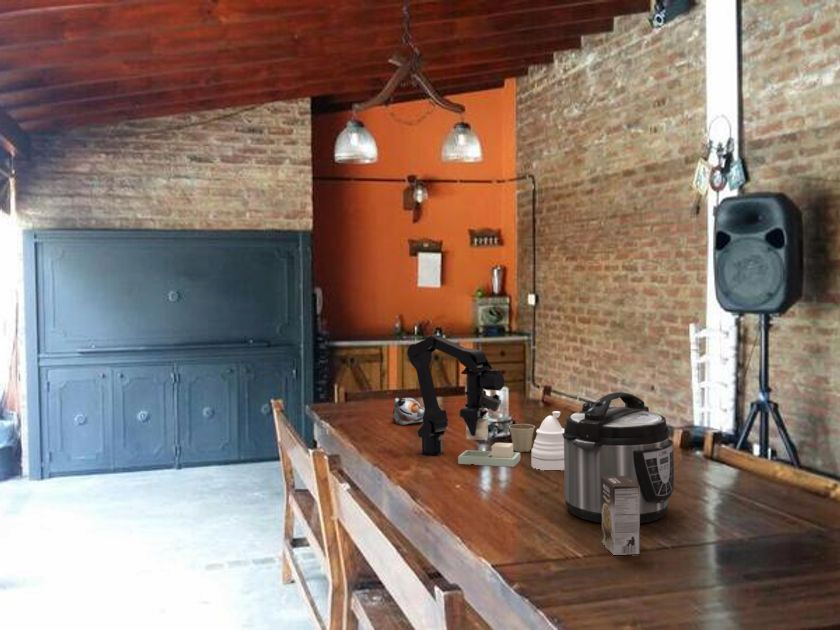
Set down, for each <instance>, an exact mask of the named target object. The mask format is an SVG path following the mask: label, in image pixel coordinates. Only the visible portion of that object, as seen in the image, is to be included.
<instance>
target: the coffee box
mask: <svg viewBox="0 0 840 630" xmlns="http://www.w3.org/2000/svg"><path fill="white" fill-rule="evenodd" d="M601 508H602V523H601V543H603V544H602V545H603V546H604V545H605V546H604V547H605V549H606V550H607V551H608V550H609V551H610V552H611V553H612V554H613V555H626V554H640V551H641V550H640V537H641V536H640V535H641V534H640V532H641V531H640V524H641V523H640V486H639V485H638V484H636V483H635V482H634V481H633V480H631V479H630V478H629V477H627V476H602V477H601ZM610 552H609V553H610ZM611 553H610V554H611ZM612 554H611V555H612ZM613 555H612V556H613ZM640 555H641V554H640Z"/></svg>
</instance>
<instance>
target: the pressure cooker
mask: <svg viewBox="0 0 840 630" xmlns="http://www.w3.org/2000/svg"><path fill="white" fill-rule="evenodd" d="M616 399H621V401H622V402H623V404H624V406H615V407H614V406H613V407H610V406H611V403H612V401H613V400H616ZM666 419H667V418H666V417H664V415H661V414H659V413H655V412H650V409H649V406H646V405H645V401H643V400H642V399H641V398H640V397H638V396H636V395H633V394H631V393H628V392H621V391H620V392H612V393H608V394H606V395H604V396H602V397H600V398H599V399H597V400H596V401H595V402H594V401H586V402H584V403H583V404H582V408H581V410H580V411H576V412H572V413H570V414H568V415H567V416H566V419H565V420H566V424H564V425H563V426H564V427H563V429H564V433H562V435H563V438H564V470H563V471H564V475H563V477H564V501H565V504H566V506H567V508H568V510H569V511H570V513H571V514H573V515H574V516H576V517H578V518H580V519H583V520H586V521H591V522H596V523H601V524H602V508H601V477H602V476H627V477H629V478H630V479H631V480H633V481H634V482H635V483H636V484H638V485H639V486H640V524H645V523H650V522H653V521H656V520H659V519H661V518H662V517H664V516H665V515H666V513H667V512H668V508H669V505H670V498H671V495H672V493H673V491H674V488H675V487H674V486H675V483H674V482H675V469H674V468H675V464H674V463H675V460H674V441H673V440H672V439H670V435H669V433H670V432H669V427H668V426H667V420H666Z"/></svg>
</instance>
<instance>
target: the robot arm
mask: <svg viewBox="0 0 840 630" xmlns="http://www.w3.org/2000/svg"><path fill="white" fill-rule="evenodd" d="M407 348H408V349H407V350H406V354H407V357H408V360H409V363H410V364H411V365H412V367H414V369H415V371H416V375H417V381H418V384H419V387H420V388H419V389H420V393H421V394H420V395H421V398H422V403H423V408H425V411H424V414H423V422H422V425H421V427H420V428H419V429H418V430H417V435H418V437H419V438H421V452H420V455H426V456H427V455H428V456H439V455H440V454H442V453H443V452H444V447H443V446H444V445H443V444H444V442H443V441H444V440H443V439H442V436H444V435H445V433H446V429H447V427H448V424H449V423H448V421H449V419H448V416H447V411H446V409H441V407H440V406H439V401H438V397H437V393H436V389H435V385H434V384H435V383H434V380H433V375H432V371H431V363H432V360H433V356H432V353H434V352H436V351H437V350H438V351H440V352H442V353H444V354H445V355H449V356H451V357H453V358H454V359H456V360H458V362H459V363H460V365H462V366H463V367H465V368H463V370H462V371H461V373H460V374H461V375H465V376H466V391H464V395H465V396H466V403H465V404H464V407H461V409H460V410H459V418H462V419H463V421H464V423H465V426H466V425H467V427H468V429H469V431H470V433H471V435H472V436H475V433H476V426H477V420H478V419H484V416H485V415H486V414H487V413H488V412H489V410H491V411H493V412H497V411H498V410H499V409H500V406H501V404H502V400H501V399H500V395H499V394H496V393H495V394H494V395H492V396H491V395H488V394H487V391H486V390H489V391H501V390H502V389H503V388H504V386H505V378H504V376H503V374H502V373H501V369H493V367H492V366H491V363H490V361H488V358H487V356H486V353H485V351H483V350H481V349H476V348H468V347H464V346H461V345H459V344H457V343H455V342H453V341H452V340H448V339H446V338H444V337H442V336H441V335H437V334H436V335H430V336H427V337H426V338H425V339H423V340H420V341H418V342H416V343H412V344H410V345H409V346H408V347H407Z"/></svg>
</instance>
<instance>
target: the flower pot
mask: <svg viewBox="0 0 840 630" xmlns="http://www.w3.org/2000/svg"><path fill="white" fill-rule="evenodd" d="M535 428H536V426H535V425H533V424H529V423H516V424H510V425H509V426H508V429H509V432H510V435H511V441H512V442H511V443H513V451H515V452H516V453H523V452H531V451H530V450H532V446H533V444H532V443H533V436H534V431H535Z"/></svg>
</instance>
